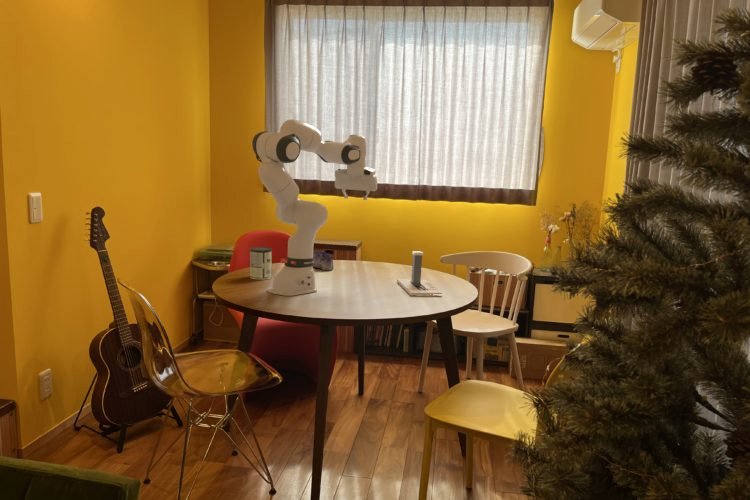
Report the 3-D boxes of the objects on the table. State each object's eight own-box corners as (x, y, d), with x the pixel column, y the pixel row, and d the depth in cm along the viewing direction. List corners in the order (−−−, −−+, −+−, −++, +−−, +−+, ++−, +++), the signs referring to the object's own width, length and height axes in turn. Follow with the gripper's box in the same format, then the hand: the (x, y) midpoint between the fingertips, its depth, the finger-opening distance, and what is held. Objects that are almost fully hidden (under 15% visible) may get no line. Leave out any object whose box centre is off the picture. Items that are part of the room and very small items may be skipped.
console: (397, 282, 271) (397, 278, 271) (425, 282, 274) (425, 279, 273) (410, 296, 244) (411, 292, 244) (441, 296, 247) (442, 292, 246)
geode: (341, 270, 294) (340, 252, 292) (321, 275, 289) (320, 256, 286) (325, 262, 311) (323, 244, 309) (305, 266, 306) (304, 248, 303)
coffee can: (253, 274, 273) (253, 246, 271) (274, 276, 272) (274, 247, 270) (246, 279, 263) (246, 249, 260) (268, 280, 262) (268, 250, 259)
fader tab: (410, 284, 265) (411, 251, 263) (419, 284, 266) (421, 251, 264) (412, 286, 261) (414, 252, 259) (421, 287, 262) (423, 252, 259)
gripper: (333, 169, 262) (332, 198, 265) (376, 172, 258) (374, 201, 262) (336, 167, 267) (336, 196, 271) (378, 170, 264) (377, 199, 267)
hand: (355, 199), depth 266 cm, fingers open, 8 cm apart
